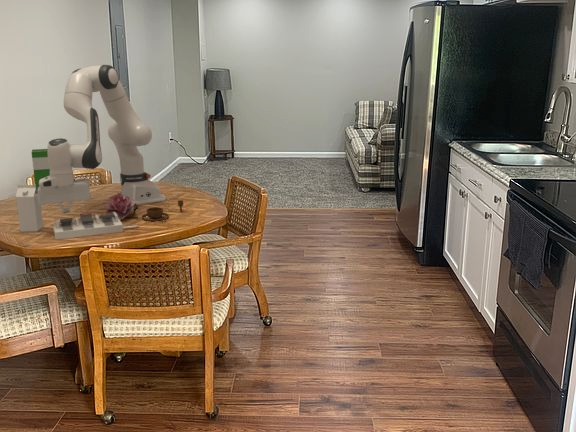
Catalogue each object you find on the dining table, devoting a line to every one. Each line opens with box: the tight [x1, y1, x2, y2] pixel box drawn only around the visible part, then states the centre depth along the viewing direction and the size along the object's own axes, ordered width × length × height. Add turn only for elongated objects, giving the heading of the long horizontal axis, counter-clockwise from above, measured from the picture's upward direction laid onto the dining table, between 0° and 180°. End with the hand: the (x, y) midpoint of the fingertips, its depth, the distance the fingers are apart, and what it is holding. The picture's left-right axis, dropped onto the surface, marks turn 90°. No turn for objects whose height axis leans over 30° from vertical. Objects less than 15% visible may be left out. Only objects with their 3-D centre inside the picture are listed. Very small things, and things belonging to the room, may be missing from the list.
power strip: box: [52, 212, 139, 240], centre depth 235 cm, size 32×13×6 cm, turn 115°
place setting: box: [141, 199, 184, 224], centre depth 254 cm, size 18×20×6 cm
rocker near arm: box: [99, 213, 113, 219], centre depth 238 cm, size 4×7×2 cm, turn 25°
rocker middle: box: [79, 212, 94, 224], centre depth 234 cm, size 4×7×2 cm, turn 25°
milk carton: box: [15, 184, 44, 233], centre depth 233 cm, size 7×7×19 cm
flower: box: [103, 193, 139, 221], centre depth 253 cm, size 15×15×10 cm
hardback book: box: [31, 148, 50, 189], centre depth 288 cm, size 18×7×24 cm, turn 111°
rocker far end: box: [59, 217, 74, 224], centre depth 231 cm, size 4×7×2 cm, turn 25°
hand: (66, 212), depth 233 cm, fingers closed
